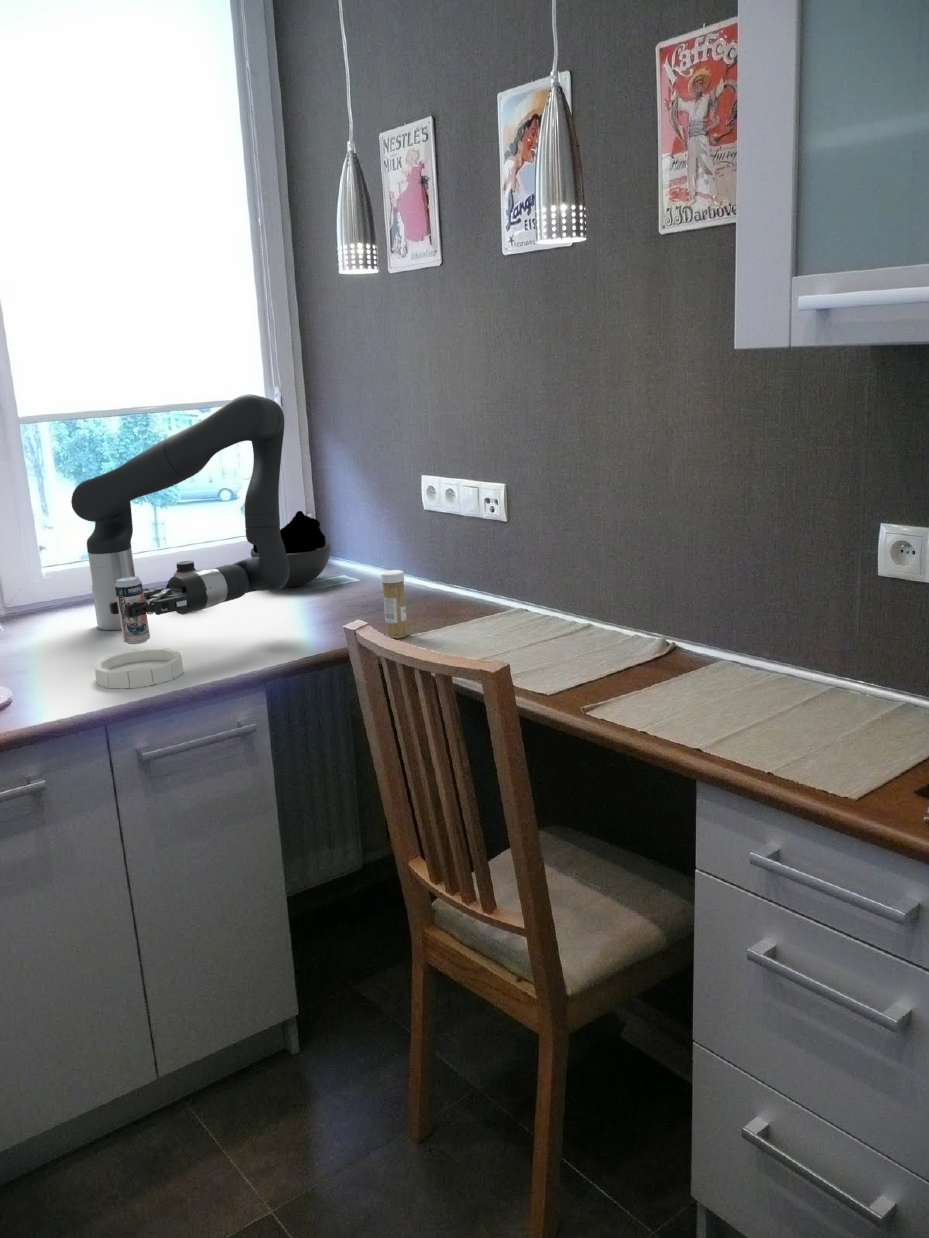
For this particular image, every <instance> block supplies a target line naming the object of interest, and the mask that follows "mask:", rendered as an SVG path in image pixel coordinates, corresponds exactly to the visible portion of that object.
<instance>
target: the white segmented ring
mask: <svg viewBox="0 0 929 1238" xmlns="http://www.w3.org/2000/svg"><path fill="white" fill-rule="evenodd" d="M94 672H95V679H96V685H97V686H101V687H103V688H107V689H111V688H120V690H121V688H122V689H123V690H125V689H124V688H130V689H131V688H132V689H137V688H144V686H146V687H151V686H150V685H153V686H156V685H160V684H163V683H165V681H166V682H169V681H173V680H175V679H176V678H178V677H179V676H180V674H181V675H182V674H184V667H183V658H182V655H181V651H178V650H174V649H171V648H143V649H142V648H141V649H134V650H127V651H123V652H119V653H115V654H112V655H108V656H105V657H104V658H102V659H100V660H98V661H96V662H94ZM174 678H175V679H174ZM155 684H156V685H155Z"/></svg>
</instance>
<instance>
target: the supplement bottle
mask: <svg viewBox="0 0 929 1238" xmlns="http://www.w3.org/2000/svg"><path fill="white" fill-rule="evenodd" d="M175 565H176V571H175V572H174V573H173V576H177V575H181V574H186V573H190V572H194V571H198V569H196V568H195V563H194V561H193V560H182V561H178V562H176V564H175Z"/></svg>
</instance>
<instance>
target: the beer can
mask: <svg viewBox="0 0 929 1238" xmlns="http://www.w3.org/2000/svg"><path fill="white" fill-rule="evenodd" d="M115 591H116V597H117V603H118V610H119V616H120V622H121V629H120V630H121V632H122V639H123V643H126V644H128V645H140V644H144V643H147V641H148V640H149V639H150V638H151V636H150V628H149V622H148V614H147V613H146V614H144V615H140V616H136V617H132V618H128V617H127V616H126V612H125V607H126V606H128V605H132V604H136V603H140V602H145V601H144V594H143V582H142V580H141V578H139V576H136V575H135V576H129V577H123V578H119V579H117V580H116V584H115Z"/></svg>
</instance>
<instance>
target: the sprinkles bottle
mask: <svg viewBox="0 0 929 1238" xmlns="http://www.w3.org/2000/svg"><path fill="white" fill-rule="evenodd" d="M380 575H381V576H380V577H381V578H380V579H381V584H382V591H383V592H382V593H383V609H384V619H385V620H384V621H385V628H386V635H387V636H389V637H394V638H396V640H397V639H402V638H406V637H407V636H409V635H408V634H409V632H408V623H407V609H406V608H407V607H406V597H405V585H404V582H405V573H404V571H403V570H399V569H392V570H385V571H383V572H381V574H380ZM387 636H386V637H387Z"/></svg>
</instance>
